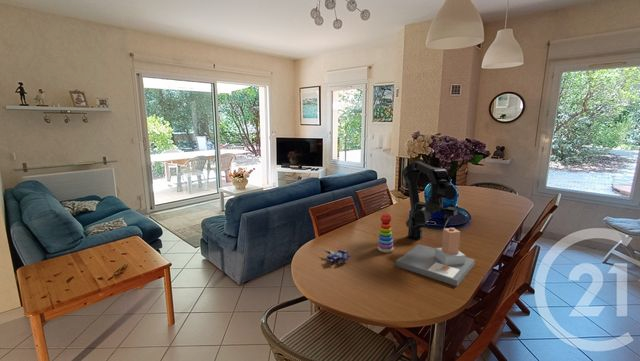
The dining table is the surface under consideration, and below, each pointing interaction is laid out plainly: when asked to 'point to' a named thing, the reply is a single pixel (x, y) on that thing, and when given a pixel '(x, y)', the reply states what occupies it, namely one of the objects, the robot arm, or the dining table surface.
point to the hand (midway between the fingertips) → (434, 225)
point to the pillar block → (450, 241)
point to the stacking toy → (385, 235)
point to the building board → (434, 265)
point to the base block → (449, 257)
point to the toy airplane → (337, 256)
